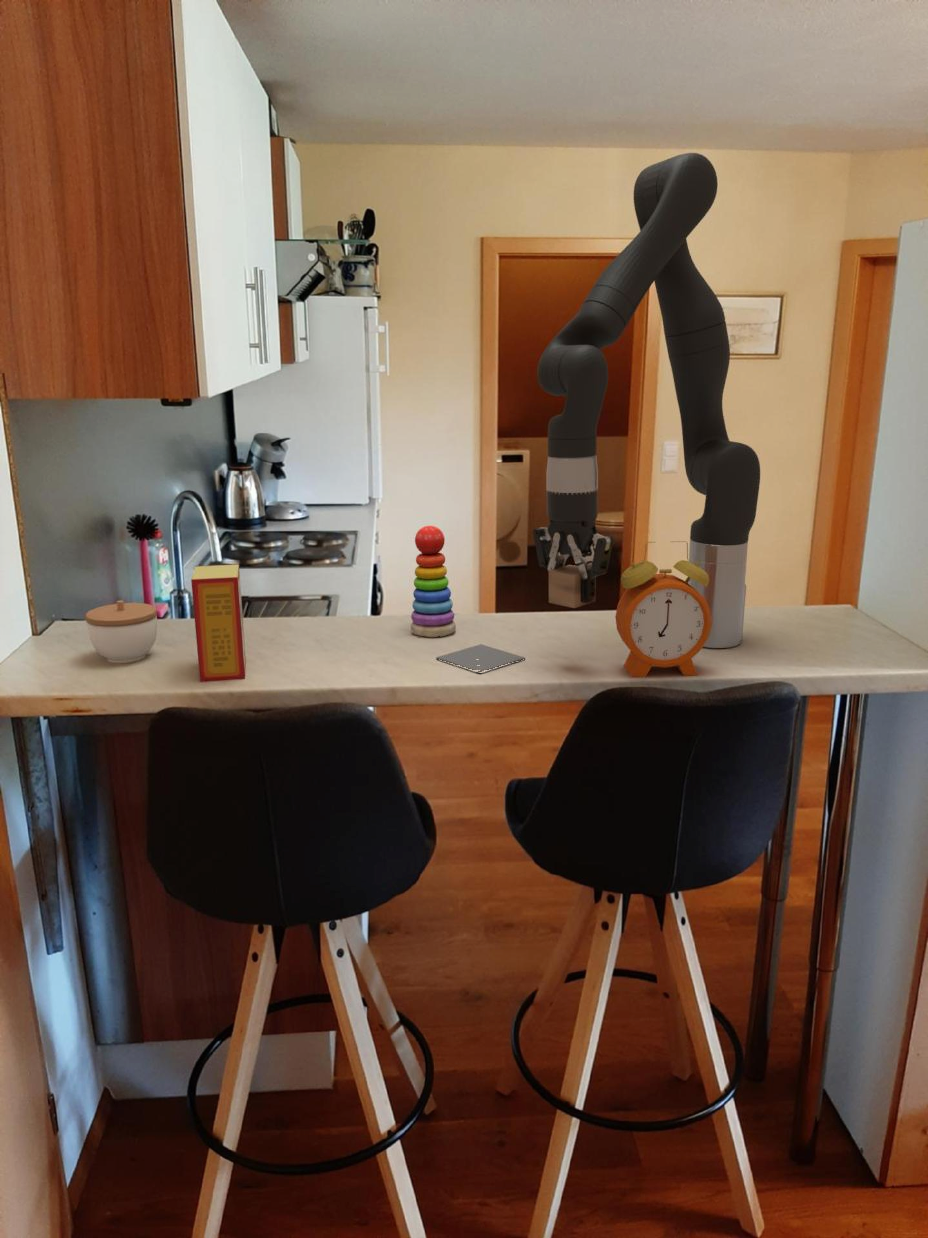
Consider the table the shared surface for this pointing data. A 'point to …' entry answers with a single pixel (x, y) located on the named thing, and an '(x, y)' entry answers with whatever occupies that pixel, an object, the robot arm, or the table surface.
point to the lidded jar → (123, 630)
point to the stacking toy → (431, 587)
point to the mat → (480, 657)
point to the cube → (566, 586)
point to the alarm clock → (662, 617)
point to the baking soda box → (219, 622)
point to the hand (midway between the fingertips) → (572, 598)
